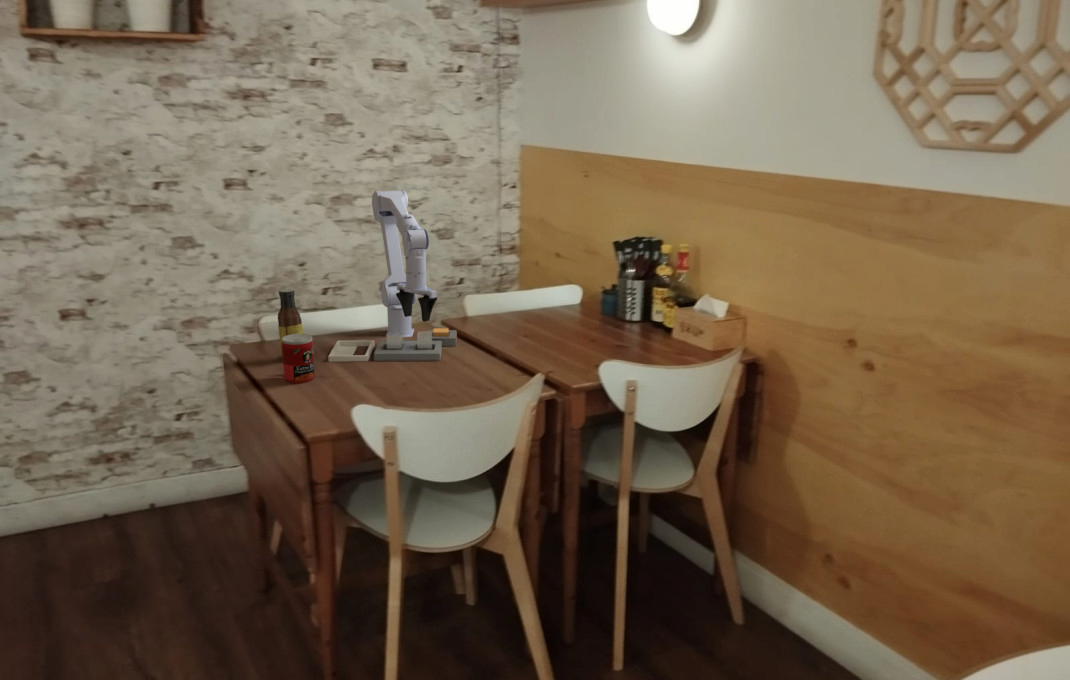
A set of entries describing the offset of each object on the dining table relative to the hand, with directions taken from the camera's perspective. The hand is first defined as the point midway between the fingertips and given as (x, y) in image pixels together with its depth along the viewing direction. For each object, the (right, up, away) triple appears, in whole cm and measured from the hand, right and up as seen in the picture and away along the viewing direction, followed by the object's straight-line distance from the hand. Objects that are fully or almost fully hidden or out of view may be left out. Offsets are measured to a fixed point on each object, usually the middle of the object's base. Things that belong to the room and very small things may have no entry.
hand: (416, 318), depth 239 cm
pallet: (-2, -11, -3) cm, 11 cm away
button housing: (+6, -7, +9) cm, 13 cm away
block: (+3, -10, -3) cm, 11 cm away
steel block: (-6, -10, -4) cm, 12 cm away
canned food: (-27, -16, -24) cm, 40 cm away
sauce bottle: (-33, -12, -9) cm, 36 cm away
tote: (-18, -10, -4) cm, 21 cm away
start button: (+6, -6, +8) cm, 12 cm away
